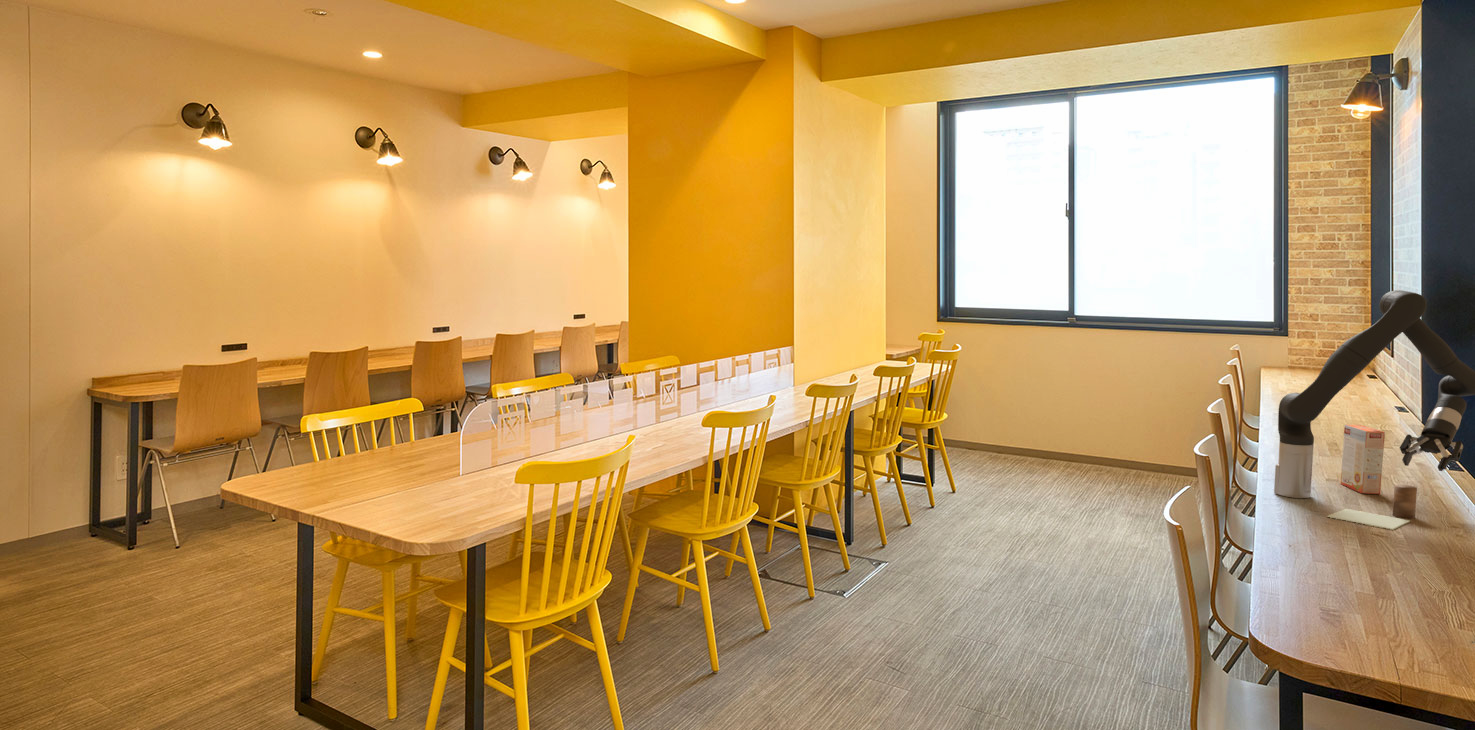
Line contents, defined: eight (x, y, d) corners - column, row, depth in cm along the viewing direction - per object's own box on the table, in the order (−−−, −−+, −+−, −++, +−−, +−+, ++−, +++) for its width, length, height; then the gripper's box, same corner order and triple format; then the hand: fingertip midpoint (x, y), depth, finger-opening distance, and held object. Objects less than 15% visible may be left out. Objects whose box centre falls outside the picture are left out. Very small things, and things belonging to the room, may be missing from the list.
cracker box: (1381, 495, 275) (1386, 431, 273) (1360, 494, 276) (1365, 430, 274) (1359, 484, 289) (1363, 424, 287) (1339, 484, 290) (1343, 423, 288)
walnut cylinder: (1389, 516, 251) (1391, 486, 250) (1396, 513, 254) (1398, 483, 253) (1411, 520, 246) (1413, 489, 246) (1417, 517, 249) (1419, 487, 249)
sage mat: (1327, 517, 250) (1327, 516, 250) (1345, 509, 258) (1345, 508, 258) (1392, 530, 237) (1392, 528, 237) (1410, 521, 245) (1410, 520, 245)
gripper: (1410, 414, 263) (1391, 454, 259) (1468, 420, 251) (1448, 463, 246) (1417, 429, 266) (1397, 469, 262) (1474, 436, 254) (1454, 479, 250)
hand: (1422, 466), depth 254 cm, fingers open, 8 cm apart
